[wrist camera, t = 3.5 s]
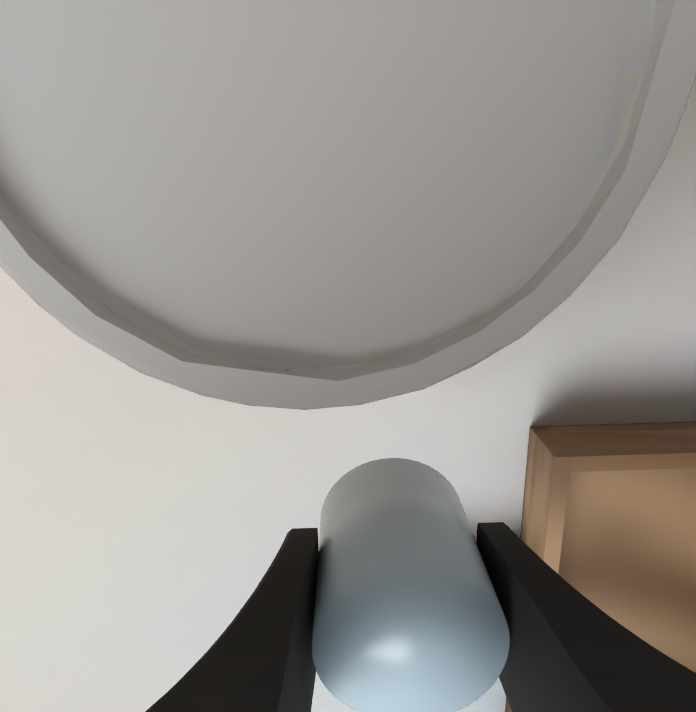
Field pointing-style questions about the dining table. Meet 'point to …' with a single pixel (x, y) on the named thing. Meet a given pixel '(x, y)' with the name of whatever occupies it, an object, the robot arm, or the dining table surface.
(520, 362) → the dining table surface
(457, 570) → the pale blue capsule
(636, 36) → the disposable coffee cup
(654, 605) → the tray
